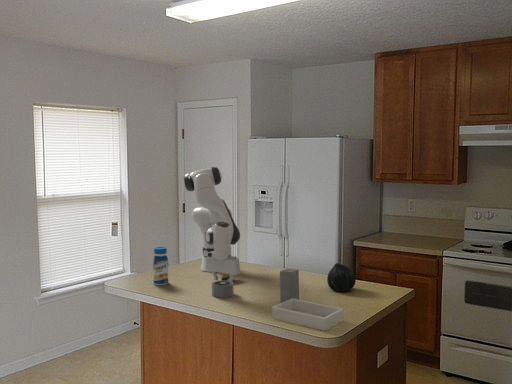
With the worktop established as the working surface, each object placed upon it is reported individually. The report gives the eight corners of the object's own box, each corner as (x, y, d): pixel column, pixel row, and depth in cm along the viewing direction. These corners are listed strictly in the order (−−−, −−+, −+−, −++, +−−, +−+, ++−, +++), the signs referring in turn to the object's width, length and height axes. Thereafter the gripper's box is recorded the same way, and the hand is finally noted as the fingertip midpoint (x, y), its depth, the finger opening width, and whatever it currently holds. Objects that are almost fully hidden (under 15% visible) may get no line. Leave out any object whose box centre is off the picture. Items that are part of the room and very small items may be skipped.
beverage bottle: (170, 281, 276) (170, 246, 275) (166, 285, 268) (165, 249, 266) (155, 281, 277) (155, 246, 275) (151, 285, 268) (150, 249, 267)
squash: (365, 280, 256) (348, 256, 262) (349, 287, 245) (332, 262, 251) (348, 294, 264) (332, 270, 270) (332, 301, 254) (316, 277, 259)
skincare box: (291, 305, 232) (292, 272, 230) (278, 303, 235) (278, 270, 234) (300, 301, 239) (300, 269, 238) (287, 298, 243) (287, 267, 241)
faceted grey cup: (221, 290, 258) (221, 279, 257) (238, 294, 251) (237, 282, 250) (207, 295, 249) (207, 283, 248) (223, 299, 242) (223, 287, 242)
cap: (222, 290, 254) (222, 280, 254) (231, 292, 250) (231, 282, 250) (214, 293, 249) (214, 283, 249) (223, 295, 246) (223, 285, 245)
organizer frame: (292, 308, 227) (292, 298, 226) (343, 320, 211) (343, 308, 210) (272, 318, 214) (272, 306, 214) (324, 330, 198) (324, 318, 198)
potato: (215, 282, 274) (215, 268, 274) (231, 278, 284) (231, 264, 283) (225, 285, 269) (225, 270, 268) (241, 280, 278) (241, 266, 278)
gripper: (242, 255, 245) (242, 283, 246) (212, 251, 257) (212, 277, 258) (234, 258, 240) (234, 285, 241) (203, 253, 252) (204, 279, 253)
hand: (222, 281), depth 250 cm, fingers open, 8 cm apart
